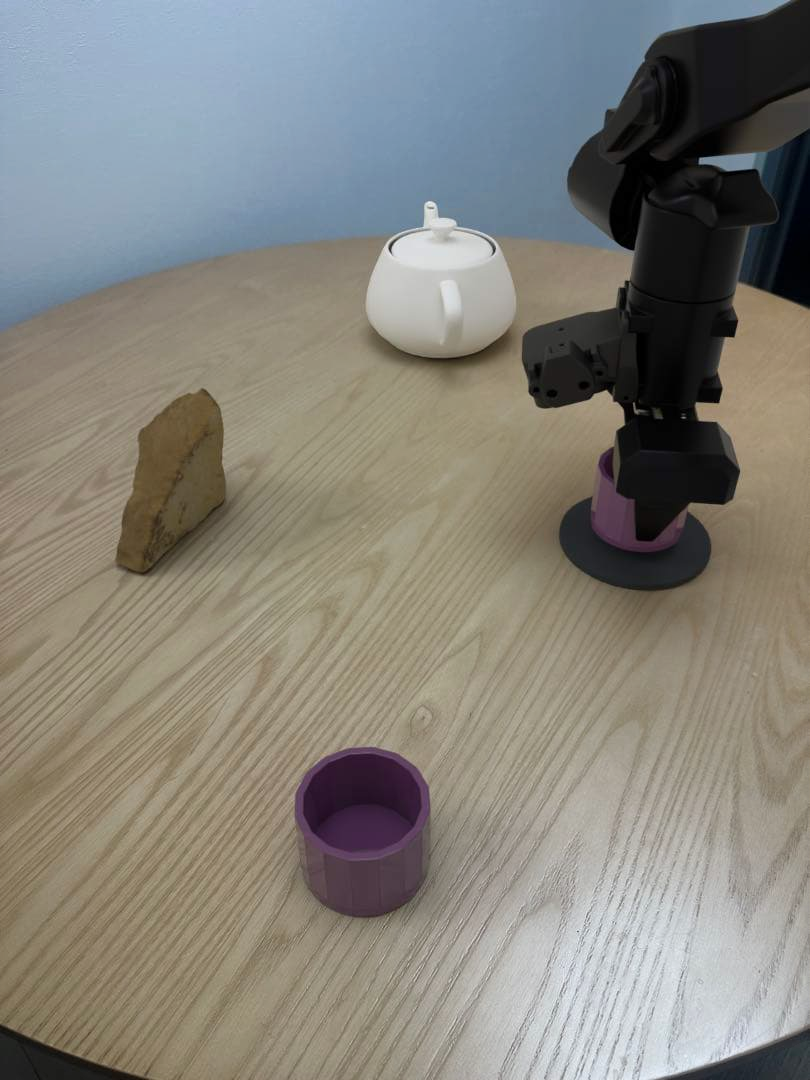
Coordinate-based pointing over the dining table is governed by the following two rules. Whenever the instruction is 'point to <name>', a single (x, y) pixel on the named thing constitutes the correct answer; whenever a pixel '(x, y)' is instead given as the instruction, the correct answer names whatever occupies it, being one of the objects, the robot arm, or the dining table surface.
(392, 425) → the dining table surface
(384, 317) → the teapot
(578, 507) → the coaster
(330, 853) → the purple faceted cup
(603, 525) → the purple cup
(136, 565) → the rock
